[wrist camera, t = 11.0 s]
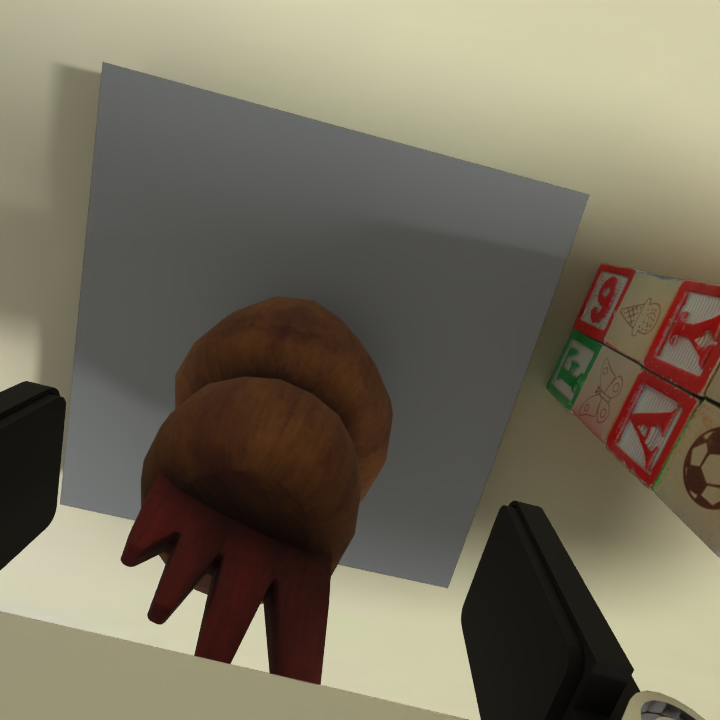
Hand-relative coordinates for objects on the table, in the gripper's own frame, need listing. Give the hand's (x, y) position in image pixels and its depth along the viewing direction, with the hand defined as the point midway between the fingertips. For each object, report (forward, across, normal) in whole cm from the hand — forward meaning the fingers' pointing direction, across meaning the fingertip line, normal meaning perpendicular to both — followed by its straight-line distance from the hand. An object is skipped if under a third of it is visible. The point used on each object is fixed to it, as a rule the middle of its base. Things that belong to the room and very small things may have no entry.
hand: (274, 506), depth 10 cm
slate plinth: (+13, +1, 0) cm, 13 cm away
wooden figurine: (+10, +1, 0) cm, 10 cm away
